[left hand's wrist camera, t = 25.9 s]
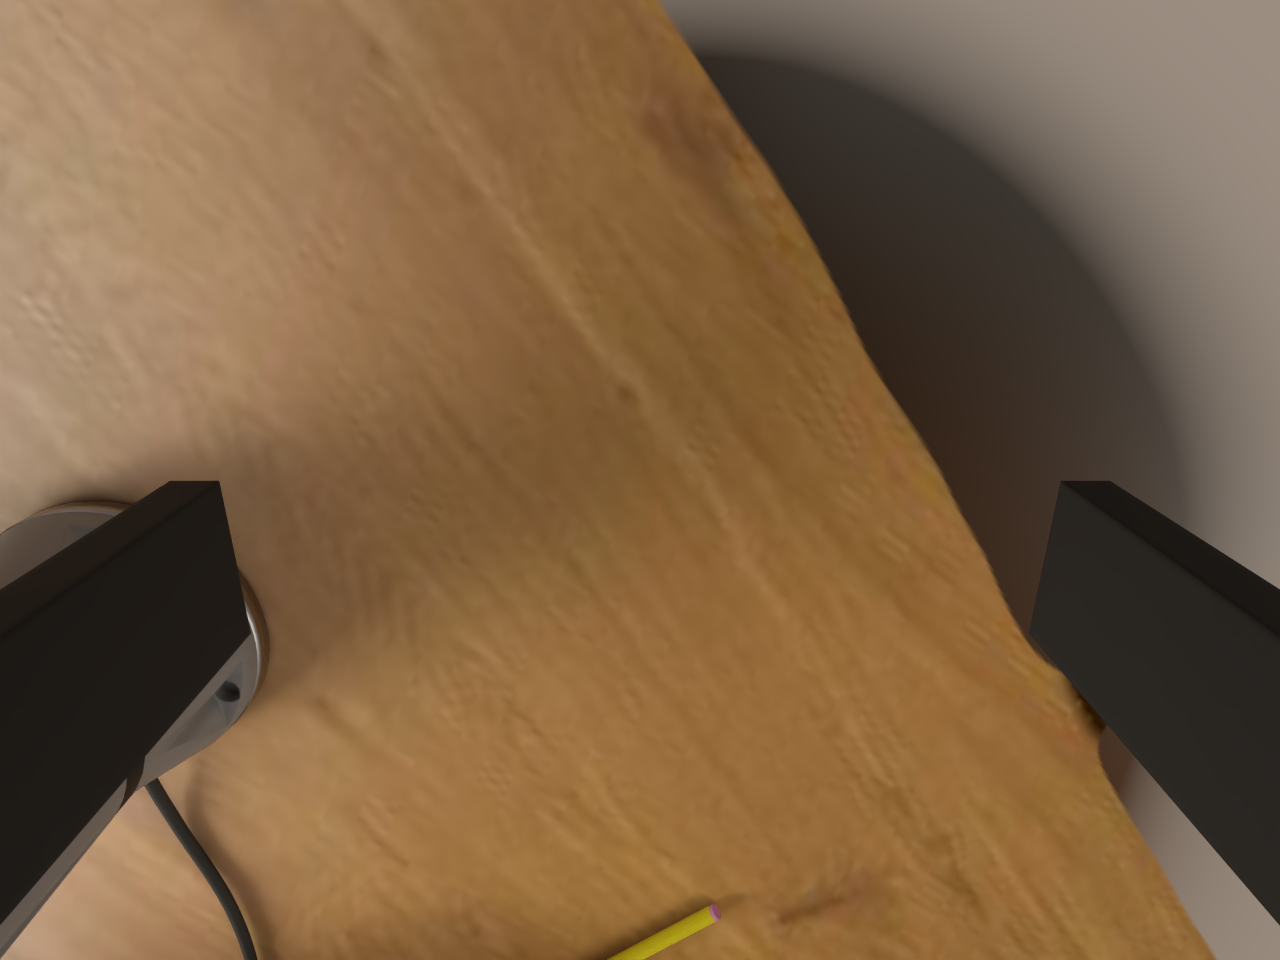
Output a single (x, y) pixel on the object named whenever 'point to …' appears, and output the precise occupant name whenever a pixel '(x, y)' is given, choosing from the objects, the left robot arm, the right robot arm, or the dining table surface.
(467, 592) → the dining table surface
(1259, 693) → the left robot arm
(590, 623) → the dining table surface
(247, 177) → the dining table surface
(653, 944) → the pencil
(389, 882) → the dining table surface
